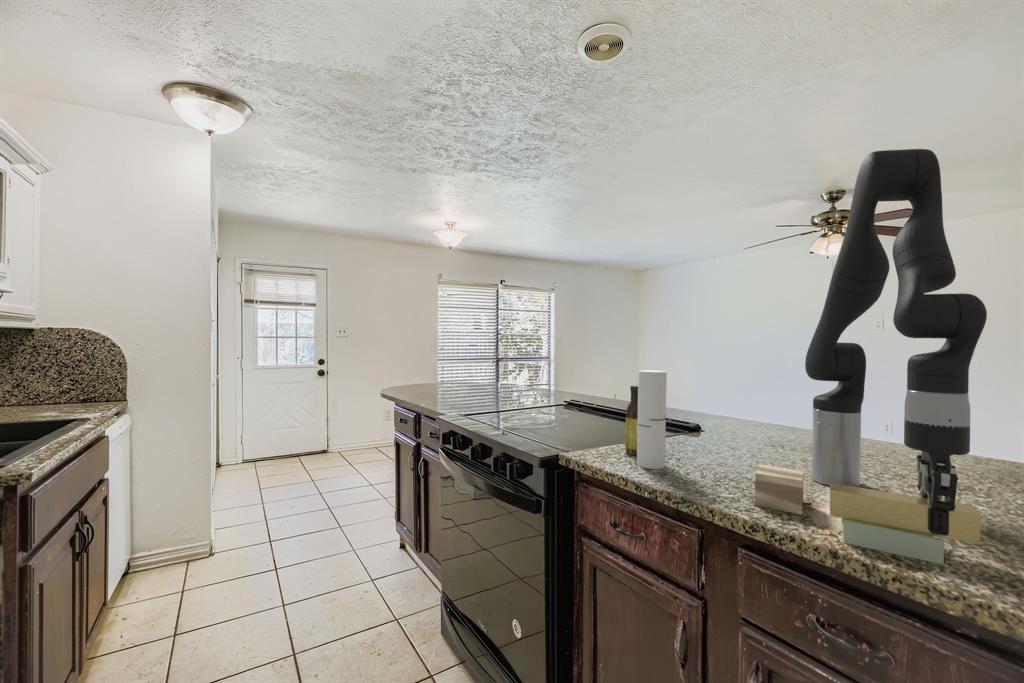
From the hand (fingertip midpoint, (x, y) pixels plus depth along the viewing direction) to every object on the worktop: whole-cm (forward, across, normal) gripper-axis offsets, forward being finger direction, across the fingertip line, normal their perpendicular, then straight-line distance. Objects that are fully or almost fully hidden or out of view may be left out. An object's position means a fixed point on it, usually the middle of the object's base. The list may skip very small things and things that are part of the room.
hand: (934, 527), depth 70 cm
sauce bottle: (+4, +32, +59) cm, 67 cm away
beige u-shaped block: (+4, +10, +22) cm, 24 cm away
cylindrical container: (+4, +23, +52) cm, 56 cm away
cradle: (+4, 0, +6) cm, 7 cm away
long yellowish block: (-2, 0, +4) cm, 5 cm away
